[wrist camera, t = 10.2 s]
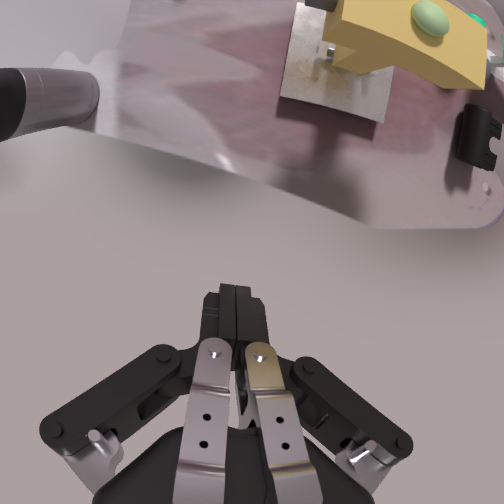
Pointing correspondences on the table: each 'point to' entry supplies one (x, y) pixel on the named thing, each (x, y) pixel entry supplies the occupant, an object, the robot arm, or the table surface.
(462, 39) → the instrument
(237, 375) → the robot arm
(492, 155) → the end cap
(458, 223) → the table surface
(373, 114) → the grey metal base plate
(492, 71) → the heart sculpture
